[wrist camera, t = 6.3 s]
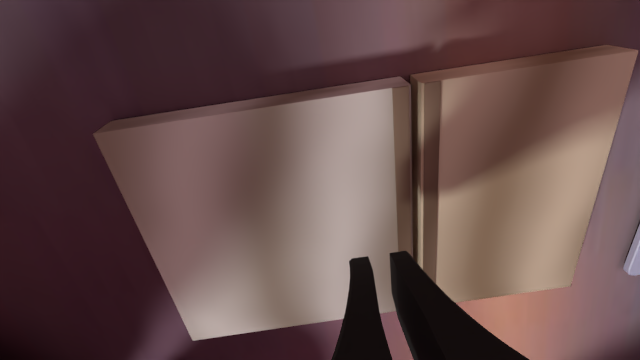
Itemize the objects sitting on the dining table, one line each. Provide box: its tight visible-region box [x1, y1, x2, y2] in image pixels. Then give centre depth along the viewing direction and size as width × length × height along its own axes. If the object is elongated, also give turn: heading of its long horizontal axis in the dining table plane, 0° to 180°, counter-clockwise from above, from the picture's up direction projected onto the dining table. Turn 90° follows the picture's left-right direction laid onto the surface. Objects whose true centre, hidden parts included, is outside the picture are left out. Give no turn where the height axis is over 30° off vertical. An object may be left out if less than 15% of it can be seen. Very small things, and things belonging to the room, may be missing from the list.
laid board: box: [410, 45, 639, 303], centre depth 16 cm, size 8×12×2 cm, turn 8°
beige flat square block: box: [93, 76, 413, 341], centre depth 16 cm, size 12×12×2 cm
